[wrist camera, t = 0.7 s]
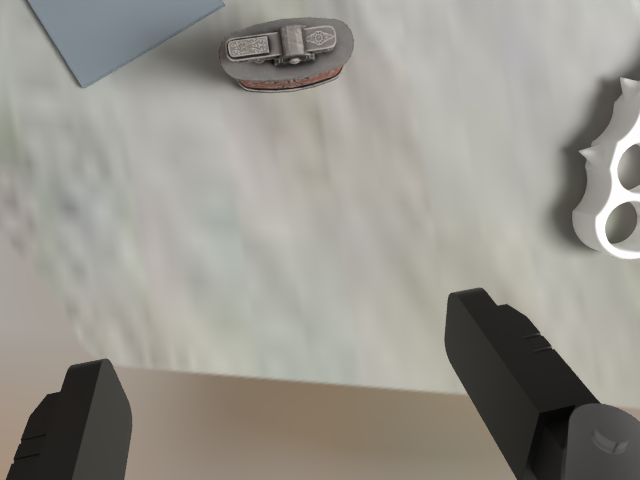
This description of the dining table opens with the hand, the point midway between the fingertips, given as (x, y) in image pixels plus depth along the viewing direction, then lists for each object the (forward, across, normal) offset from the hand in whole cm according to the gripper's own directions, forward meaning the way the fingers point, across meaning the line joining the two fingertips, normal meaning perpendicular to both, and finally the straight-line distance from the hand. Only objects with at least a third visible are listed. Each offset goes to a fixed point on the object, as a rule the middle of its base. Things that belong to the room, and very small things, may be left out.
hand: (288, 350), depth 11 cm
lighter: (+29, -4, 0) cm, 29 cm away
